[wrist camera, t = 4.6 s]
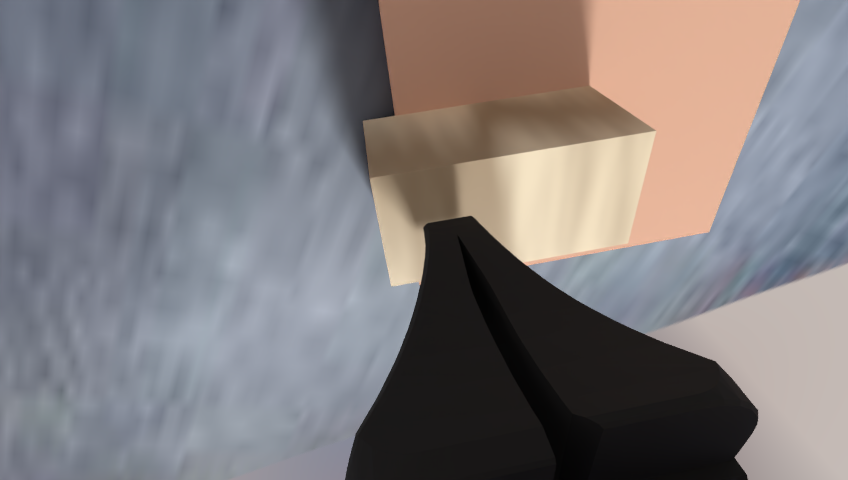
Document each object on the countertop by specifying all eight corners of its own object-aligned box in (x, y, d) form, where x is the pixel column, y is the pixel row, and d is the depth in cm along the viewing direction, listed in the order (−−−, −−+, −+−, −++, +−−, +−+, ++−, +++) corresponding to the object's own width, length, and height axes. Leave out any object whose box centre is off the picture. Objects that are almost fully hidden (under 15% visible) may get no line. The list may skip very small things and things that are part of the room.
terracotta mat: (418, 278, 20) (419, 285, 19) (374, -23, 12) (376, -21, 12) (703, 227, 21) (708, 232, 20) (820, -83, 13) (832, -83, 13)
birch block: (391, 286, 14) (628, 243, 14) (369, 178, 11) (656, 130, 12) (381, 217, 17) (575, 184, 17) (363, 120, 14) (589, 85, 15)
